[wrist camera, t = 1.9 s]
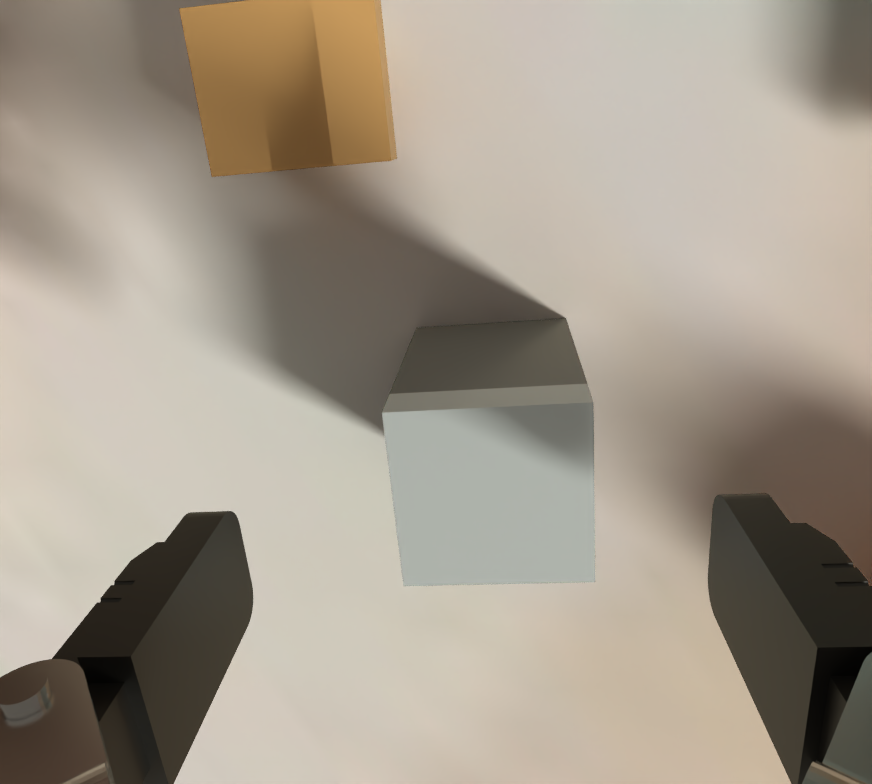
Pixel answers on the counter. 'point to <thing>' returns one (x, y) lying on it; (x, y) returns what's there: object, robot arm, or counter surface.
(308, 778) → the counter surface
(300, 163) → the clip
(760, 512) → the robot arm
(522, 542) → the block
